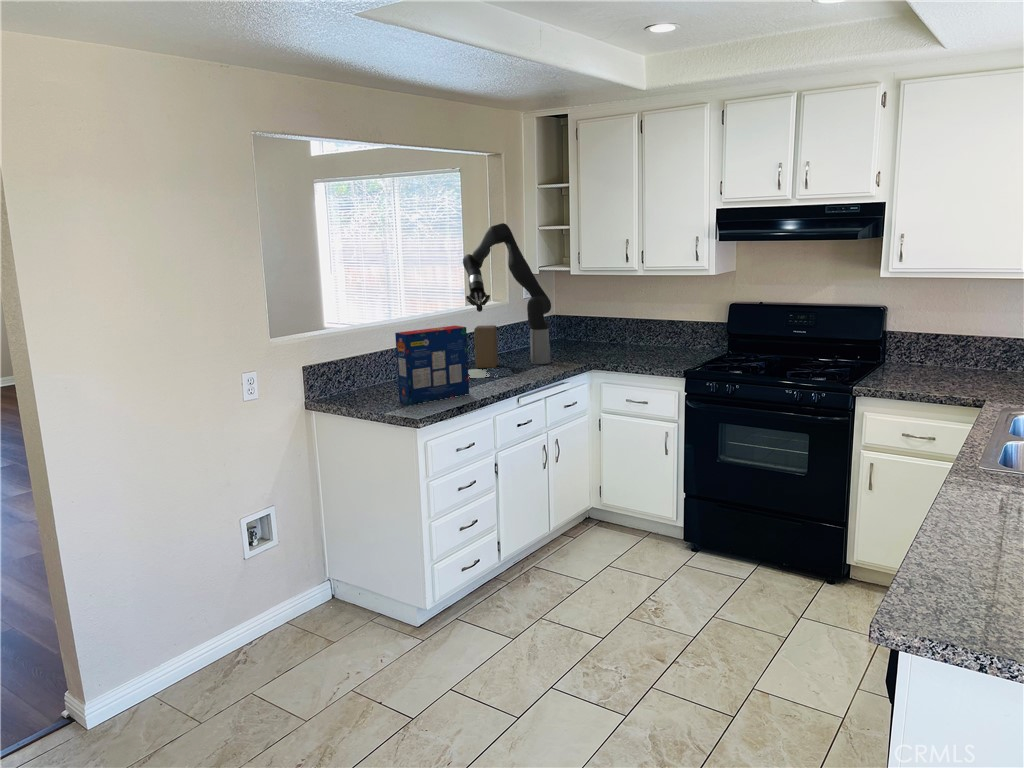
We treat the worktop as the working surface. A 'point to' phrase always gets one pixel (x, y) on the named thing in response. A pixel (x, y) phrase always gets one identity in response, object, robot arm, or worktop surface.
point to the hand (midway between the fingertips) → (479, 310)
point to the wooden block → (486, 346)
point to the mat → (478, 373)
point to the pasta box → (432, 364)
